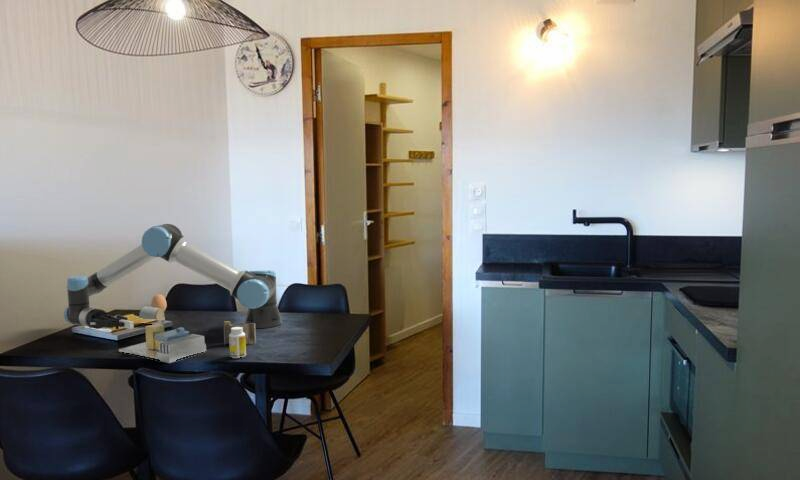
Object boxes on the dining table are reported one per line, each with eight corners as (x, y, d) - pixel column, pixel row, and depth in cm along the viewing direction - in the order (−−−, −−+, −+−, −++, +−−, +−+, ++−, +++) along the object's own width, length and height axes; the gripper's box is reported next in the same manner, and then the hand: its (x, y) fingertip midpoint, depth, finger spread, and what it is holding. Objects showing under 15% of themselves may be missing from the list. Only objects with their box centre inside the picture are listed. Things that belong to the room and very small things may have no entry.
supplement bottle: (246, 353, 234) (245, 325, 233) (245, 358, 228) (244, 329, 227) (230, 354, 233) (229, 326, 232) (229, 359, 227) (228, 330, 226)
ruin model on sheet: (224, 346, 246) (223, 320, 245) (225, 344, 249) (224, 319, 248) (255, 345, 247) (254, 319, 246) (256, 343, 250) (255, 318, 249)
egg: (149, 313, 303) (148, 294, 302) (163, 311, 308) (162, 292, 307) (155, 315, 298) (154, 296, 297) (169, 313, 303) (168, 294, 302)
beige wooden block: (146, 347, 239) (145, 326, 238) (158, 344, 243) (156, 323, 242) (166, 352, 233) (164, 329, 232) (177, 348, 237) (176, 326, 236)
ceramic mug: (156, 326, 277) (155, 308, 277) (138, 326, 279) (138, 308, 278) (169, 321, 288) (169, 304, 287) (152, 320, 289) (152, 303, 289)
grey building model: (119, 351, 239) (117, 330, 238) (156, 341, 252) (155, 321, 251) (169, 363, 224) (168, 340, 223) (206, 351, 237) (205, 330, 236)
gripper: (109, 324, 264) (147, 331, 252) (79, 331, 253) (116, 338, 241) (108, 305, 264) (146, 312, 251) (77, 311, 253) (115, 318, 240)
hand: (131, 325), depth 246 cm, fingers closed
